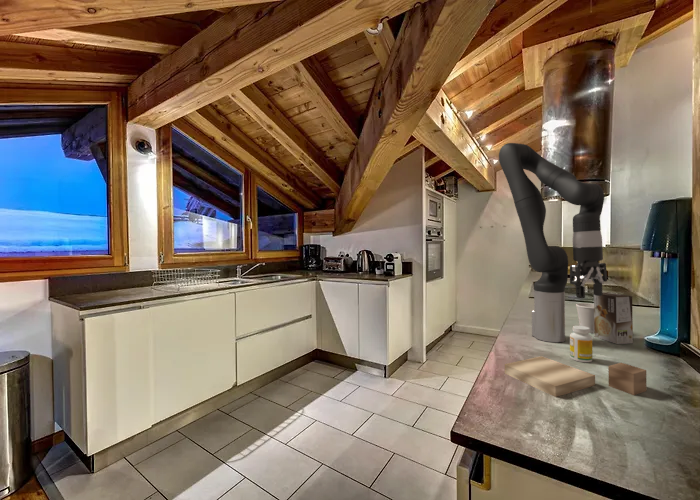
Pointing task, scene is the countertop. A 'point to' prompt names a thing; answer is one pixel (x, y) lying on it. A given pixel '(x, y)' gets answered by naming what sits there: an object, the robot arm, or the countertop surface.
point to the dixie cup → (586, 315)
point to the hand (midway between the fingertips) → (589, 296)
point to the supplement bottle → (581, 344)
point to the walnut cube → (627, 378)
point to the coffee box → (613, 318)
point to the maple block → (550, 375)
